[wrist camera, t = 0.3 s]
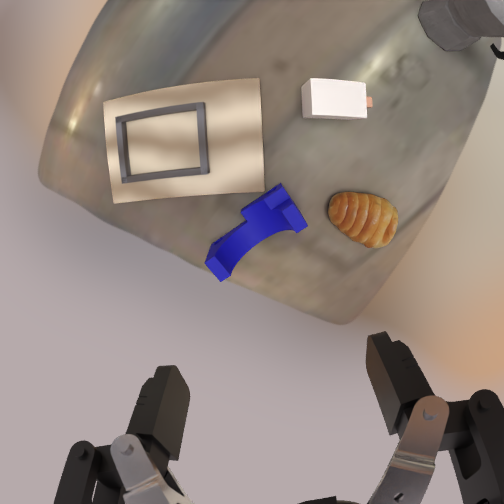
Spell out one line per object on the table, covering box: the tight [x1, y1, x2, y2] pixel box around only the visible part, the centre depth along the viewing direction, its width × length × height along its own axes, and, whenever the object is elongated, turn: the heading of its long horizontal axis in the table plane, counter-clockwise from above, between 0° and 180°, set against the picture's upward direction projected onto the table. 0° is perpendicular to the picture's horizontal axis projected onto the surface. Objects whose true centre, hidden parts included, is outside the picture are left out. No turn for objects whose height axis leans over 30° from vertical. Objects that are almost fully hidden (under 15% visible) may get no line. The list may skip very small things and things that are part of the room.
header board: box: [104, 78, 265, 204], centre depth 31 cm, size 14×20×2 cm
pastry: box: [328, 192, 398, 248], centre depth 34 cm, size 9×7×4 cm
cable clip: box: [205, 183, 308, 282], centre depth 34 cm, size 12×4×6 cm, turn 126°
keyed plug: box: [301, 78, 372, 120], centre depth 28 cm, size 4×7×6 cm, turn 93°
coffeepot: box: [418, 0, 504, 60], centre depth 15 cm, size 15×9×18 cm, turn 44°
